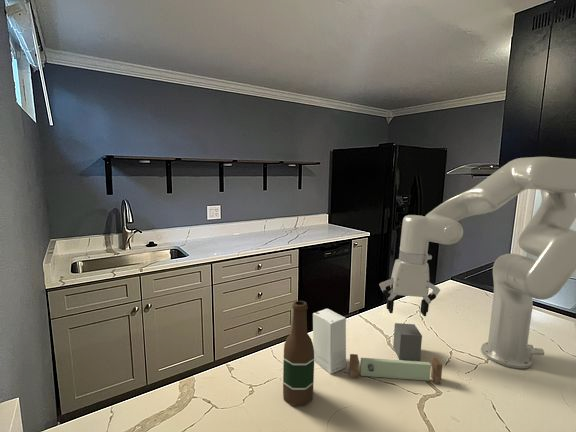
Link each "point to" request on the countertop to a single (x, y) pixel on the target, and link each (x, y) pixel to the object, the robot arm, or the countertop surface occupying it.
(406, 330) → the block
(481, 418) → the countertop surface
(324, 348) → the skincare box
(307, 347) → the beer bottle
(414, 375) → the door
